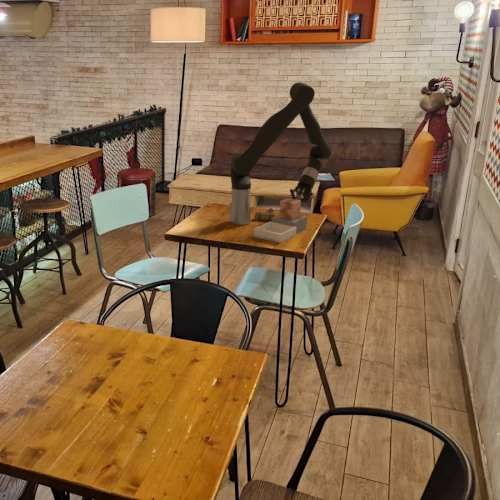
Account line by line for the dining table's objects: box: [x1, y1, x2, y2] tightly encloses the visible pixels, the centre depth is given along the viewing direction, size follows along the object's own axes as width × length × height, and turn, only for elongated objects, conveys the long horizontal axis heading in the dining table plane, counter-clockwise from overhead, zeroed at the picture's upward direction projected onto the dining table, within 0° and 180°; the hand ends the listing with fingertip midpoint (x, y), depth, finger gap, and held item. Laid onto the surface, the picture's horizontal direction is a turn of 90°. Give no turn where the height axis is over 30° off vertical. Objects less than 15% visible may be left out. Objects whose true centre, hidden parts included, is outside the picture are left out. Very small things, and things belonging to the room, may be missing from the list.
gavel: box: [254, 208, 277, 222], centre depth 246 cm, size 21×5×10 cm
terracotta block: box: [279, 197, 302, 220], centre depth 222 cm, size 7×7×8 cm
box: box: [253, 221, 297, 244], centre depth 214 cm, size 14×14×4 cm
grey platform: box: [271, 214, 308, 235], centre depth 224 cm, size 12×12×6 cm
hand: (294, 208), depth 226 cm, fingers closed
